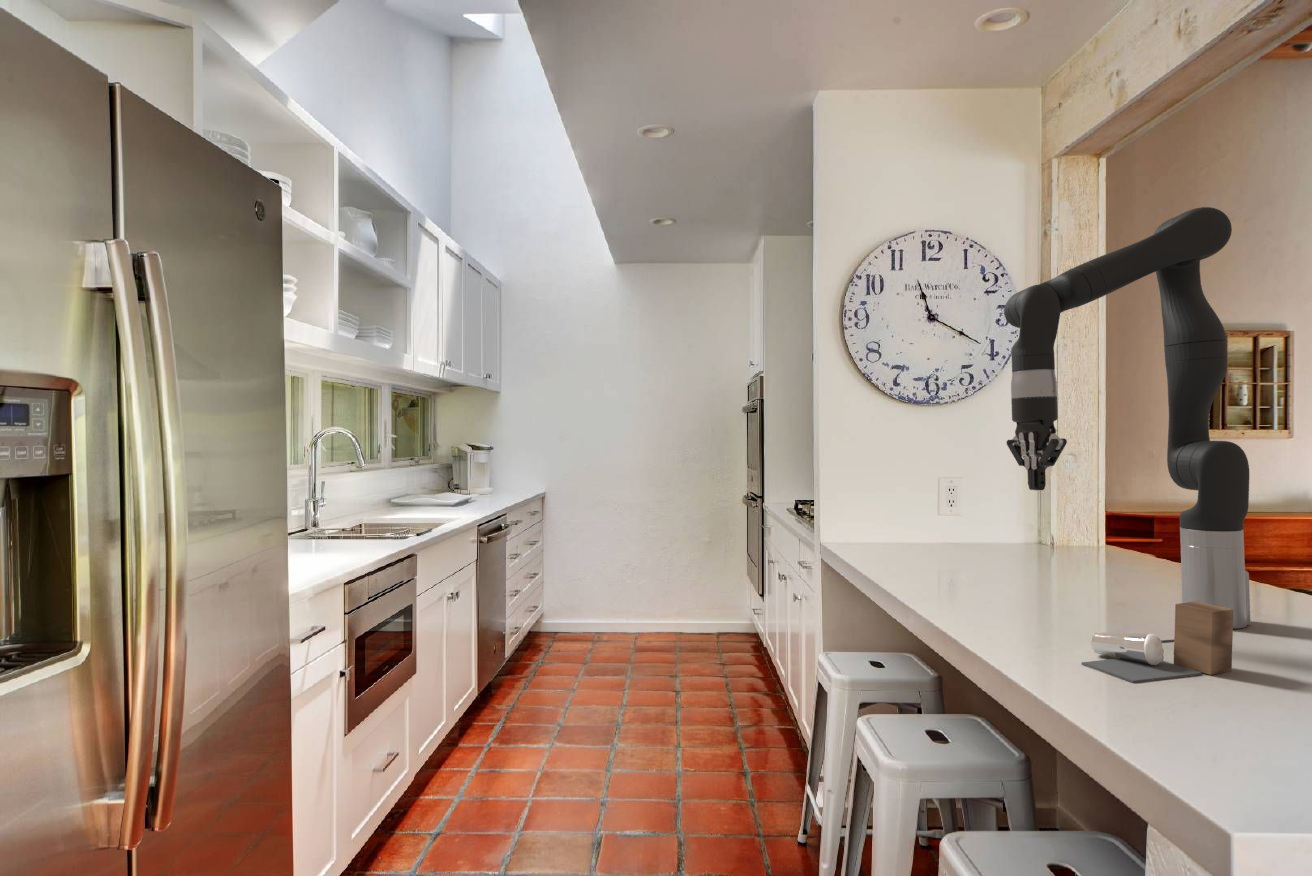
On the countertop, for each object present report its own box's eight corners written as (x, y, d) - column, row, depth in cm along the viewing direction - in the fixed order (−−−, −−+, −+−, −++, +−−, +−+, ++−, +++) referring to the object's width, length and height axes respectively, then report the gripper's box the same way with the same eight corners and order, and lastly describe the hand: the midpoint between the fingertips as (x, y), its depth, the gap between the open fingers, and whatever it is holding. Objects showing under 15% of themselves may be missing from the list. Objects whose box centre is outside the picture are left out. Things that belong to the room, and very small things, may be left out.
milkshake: (1108, 646, 117) (1179, 654, 108) (1094, 663, 114) (1166, 673, 105) (1100, 620, 116) (1171, 626, 108) (1085, 637, 113) (1157, 644, 105)
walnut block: (1194, 660, 110) (1196, 601, 110) (1231, 670, 105) (1233, 609, 105) (1173, 664, 108) (1175, 604, 108) (1210, 674, 103) (1212, 612, 103)
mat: (1146, 657, 113) (1146, 655, 113) (1201, 674, 104) (1201, 672, 104) (1081, 664, 110) (1081, 662, 110) (1132, 682, 101) (1132, 680, 101)
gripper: (1079, 393, 128) (1082, 491, 128) (1025, 398, 141) (1028, 487, 141) (1043, 393, 126) (1046, 492, 126) (992, 398, 139) (994, 488, 139)
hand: (1036, 489), depth 133 cm, fingers closed
